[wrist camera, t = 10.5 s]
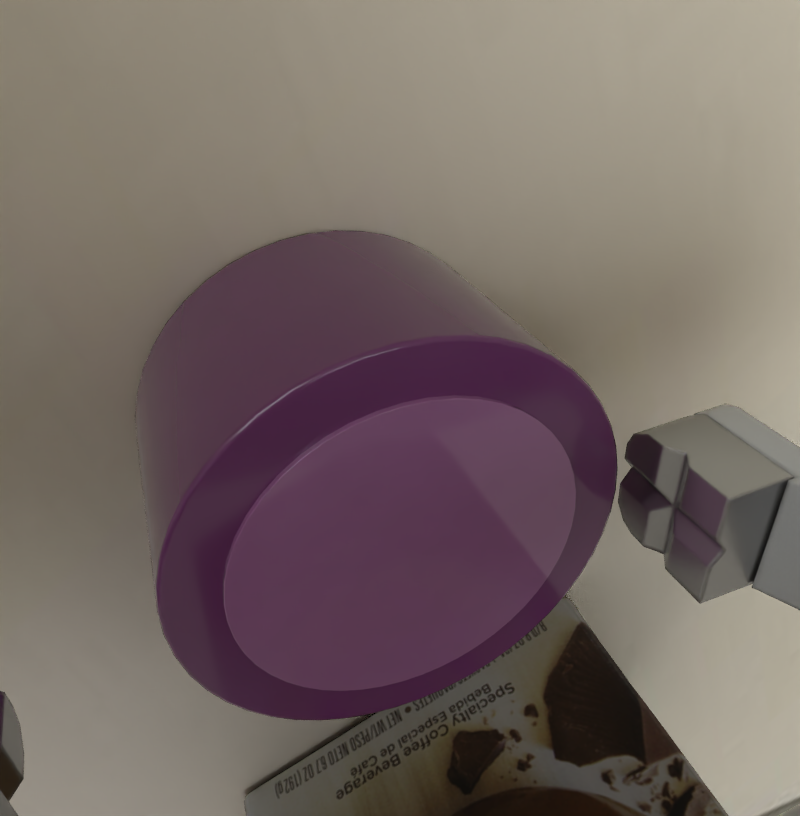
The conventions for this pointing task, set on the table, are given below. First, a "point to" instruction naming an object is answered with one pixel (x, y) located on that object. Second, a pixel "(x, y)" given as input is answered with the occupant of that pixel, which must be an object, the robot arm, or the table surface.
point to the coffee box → (505, 745)
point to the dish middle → (359, 477)
